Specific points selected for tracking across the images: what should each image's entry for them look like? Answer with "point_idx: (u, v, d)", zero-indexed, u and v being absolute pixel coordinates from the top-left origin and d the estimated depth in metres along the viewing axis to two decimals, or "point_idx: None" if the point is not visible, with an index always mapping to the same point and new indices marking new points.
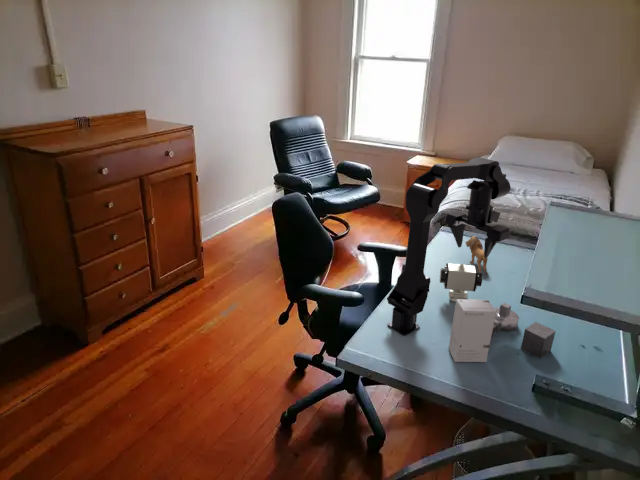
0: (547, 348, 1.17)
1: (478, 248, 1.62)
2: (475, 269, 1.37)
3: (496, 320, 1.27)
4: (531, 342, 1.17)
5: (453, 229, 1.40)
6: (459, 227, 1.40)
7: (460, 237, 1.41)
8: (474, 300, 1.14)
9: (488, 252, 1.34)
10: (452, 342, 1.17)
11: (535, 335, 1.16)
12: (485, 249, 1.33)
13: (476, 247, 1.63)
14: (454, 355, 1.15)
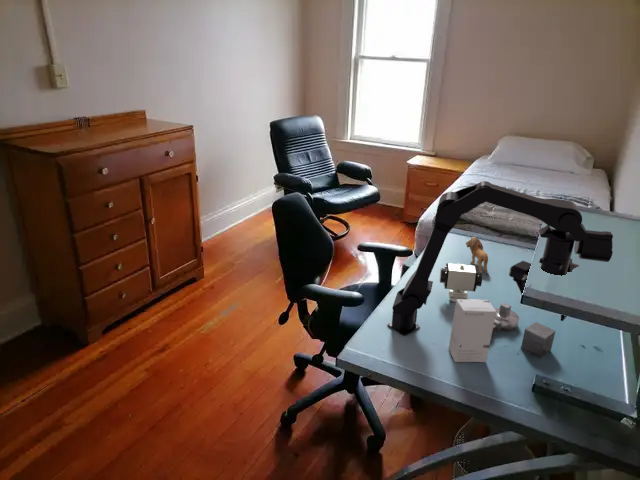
0: (547, 348, 1.17)
1: (478, 249, 1.61)
2: (475, 269, 1.37)
3: (496, 320, 1.27)
4: (531, 342, 1.17)
5: (520, 285, 1.16)
6: None
7: None
8: (474, 300, 1.14)
9: None
10: (452, 342, 1.17)
11: (535, 335, 1.16)
12: None
13: (476, 247, 1.62)
14: (454, 355, 1.15)
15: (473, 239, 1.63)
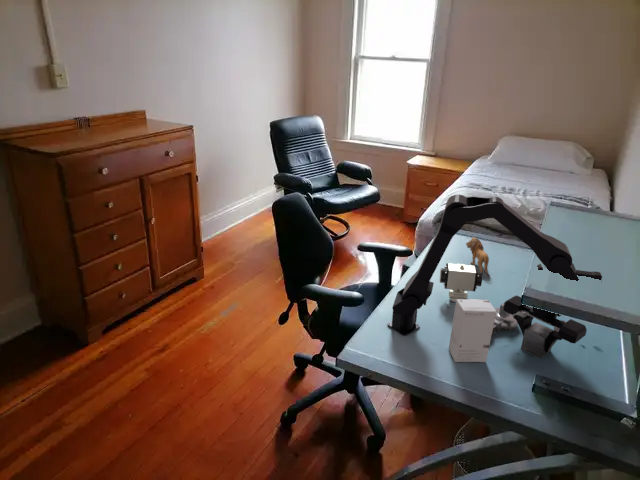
0: None
1: (479, 249, 1.61)
2: (475, 269, 1.37)
3: (496, 320, 1.27)
4: (531, 342, 1.17)
5: (520, 323, 1.18)
6: (527, 319, 1.19)
7: None
8: (474, 300, 1.14)
9: (550, 346, 1.16)
10: (452, 342, 1.17)
11: (535, 335, 1.16)
12: (547, 344, 1.15)
13: (476, 248, 1.62)
14: (454, 355, 1.15)
15: (473, 240, 1.63)
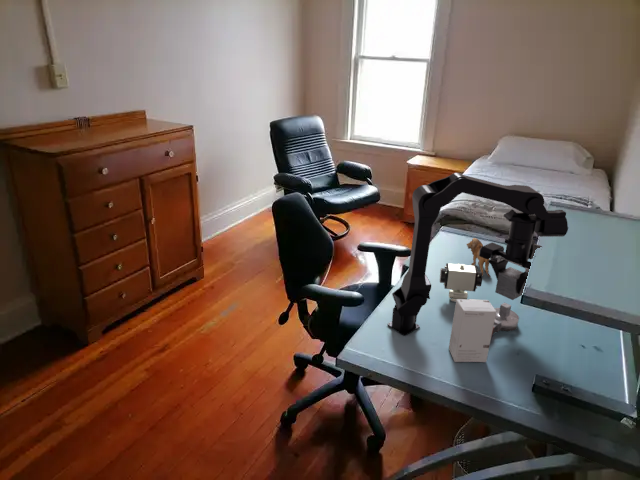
0: None
1: None
2: (475, 269, 1.37)
3: (496, 320, 1.27)
4: (505, 284, 1.24)
5: (494, 266, 1.25)
6: (501, 264, 1.25)
7: None
8: (474, 300, 1.14)
9: (522, 288, 1.22)
10: (452, 342, 1.17)
11: (508, 277, 1.22)
12: (519, 285, 1.21)
13: (477, 249, 1.61)
14: (454, 355, 1.15)
15: (474, 240, 1.62)
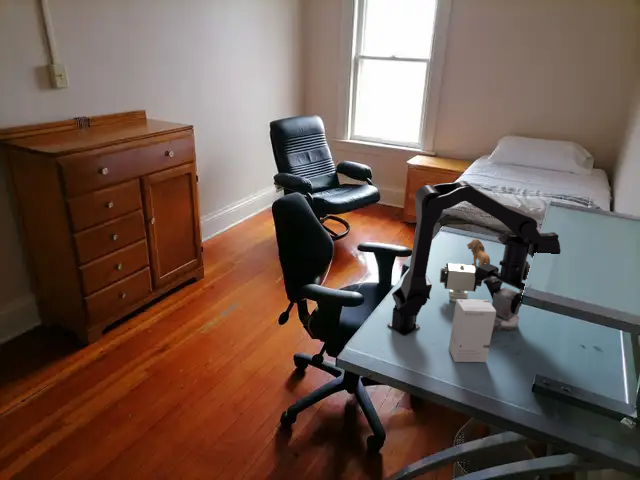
0: None
1: (480, 250, 1.60)
2: (475, 269, 1.37)
3: (496, 320, 1.27)
4: (500, 304, 1.27)
5: (490, 287, 1.28)
6: (496, 284, 1.28)
7: None
8: (474, 300, 1.14)
9: (517, 308, 1.25)
10: (452, 342, 1.17)
11: (503, 298, 1.25)
12: (514, 306, 1.24)
13: (478, 249, 1.61)
14: (454, 355, 1.15)
15: (474, 241, 1.62)
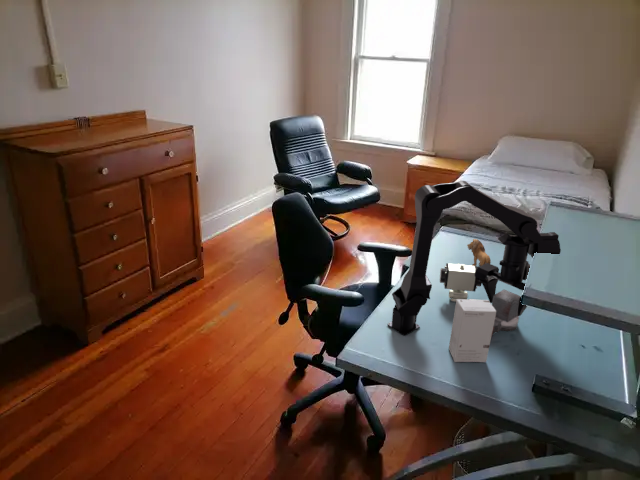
0: (514, 313, 1.27)
1: (480, 251, 1.60)
2: (475, 269, 1.37)
3: (496, 320, 1.27)
4: (499, 307, 1.27)
5: (485, 285, 1.29)
6: (492, 282, 1.29)
7: (492, 292, 1.31)
8: (474, 300, 1.14)
9: (522, 311, 1.24)
10: (452, 342, 1.17)
11: (502, 300, 1.26)
12: (519, 308, 1.23)
13: (478, 250, 1.60)
14: (454, 355, 1.15)
15: (475, 241, 1.62)
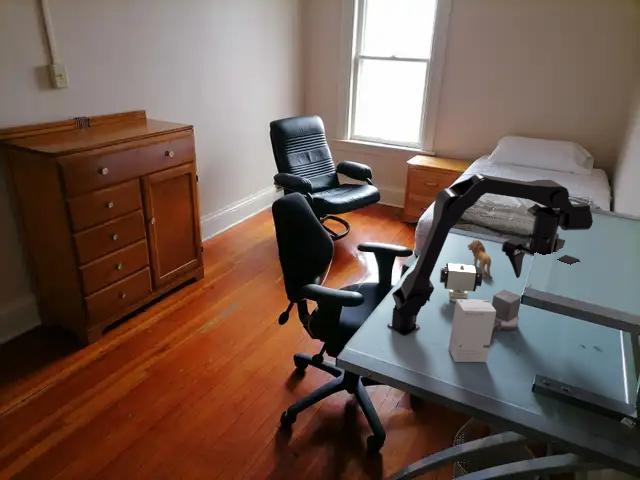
0: (514, 313, 1.27)
1: (481, 251, 1.59)
2: (475, 269, 1.37)
3: (496, 320, 1.27)
4: (499, 307, 1.27)
5: (512, 259, 1.26)
6: (518, 256, 1.26)
7: (519, 267, 1.28)
8: (474, 300, 1.14)
9: None
10: (452, 342, 1.17)
11: (502, 300, 1.26)
12: None
13: (478, 250, 1.60)
14: (454, 355, 1.15)
15: (475, 242, 1.61)
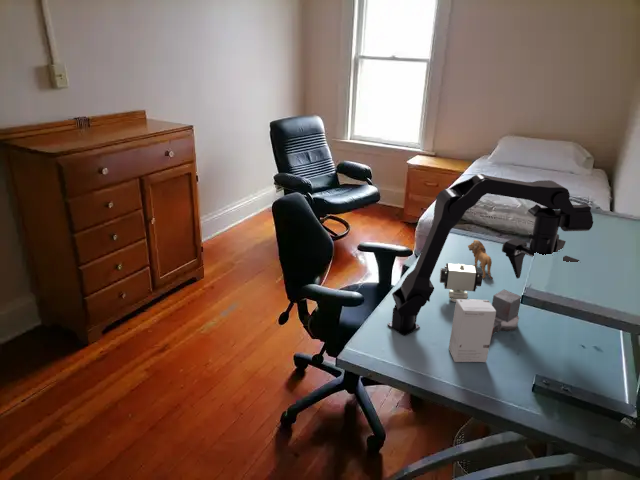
0: (514, 313, 1.27)
1: (481, 252, 1.59)
2: (475, 269, 1.37)
3: (496, 320, 1.27)
4: (499, 307, 1.27)
5: (512, 259, 1.26)
6: (519, 257, 1.26)
7: (519, 267, 1.28)
8: (474, 300, 1.14)
9: None
10: (452, 342, 1.17)
11: (502, 300, 1.26)
12: None
13: (479, 251, 1.60)
14: (454, 355, 1.15)
15: (475, 242, 1.61)
